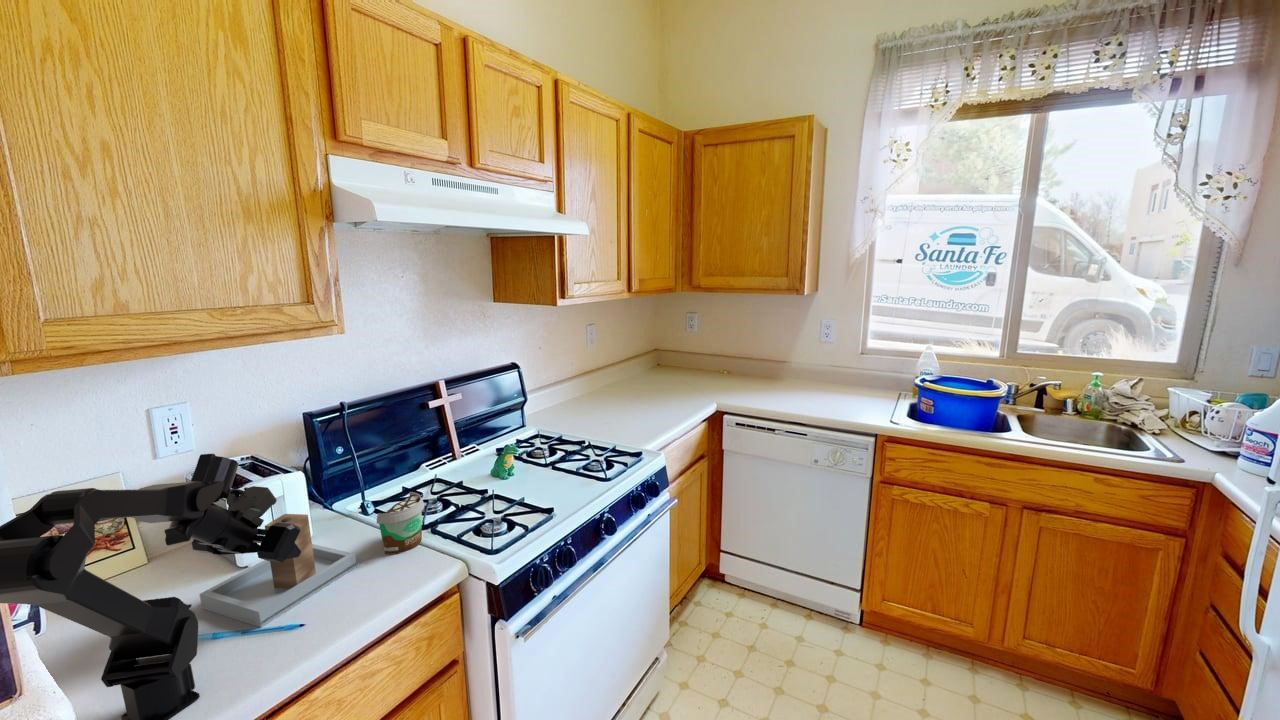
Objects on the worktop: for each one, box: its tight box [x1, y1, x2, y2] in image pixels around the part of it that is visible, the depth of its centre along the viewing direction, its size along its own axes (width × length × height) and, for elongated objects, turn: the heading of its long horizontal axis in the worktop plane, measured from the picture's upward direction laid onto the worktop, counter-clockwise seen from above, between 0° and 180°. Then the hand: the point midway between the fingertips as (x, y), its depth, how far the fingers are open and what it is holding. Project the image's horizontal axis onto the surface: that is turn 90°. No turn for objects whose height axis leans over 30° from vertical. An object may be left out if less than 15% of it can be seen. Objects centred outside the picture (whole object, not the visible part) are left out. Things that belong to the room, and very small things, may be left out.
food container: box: [376, 491, 425, 555], centre depth 120 cm, size 12×6×10 cm, turn 168°
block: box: [264, 513, 316, 589], centre depth 104 cm, size 5×5×13 cm
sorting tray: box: [199, 543, 358, 628], centre depth 105 cm, size 20×16×3 cm
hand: (279, 551), depth 102 cm, fingers open, 9 cm apart
